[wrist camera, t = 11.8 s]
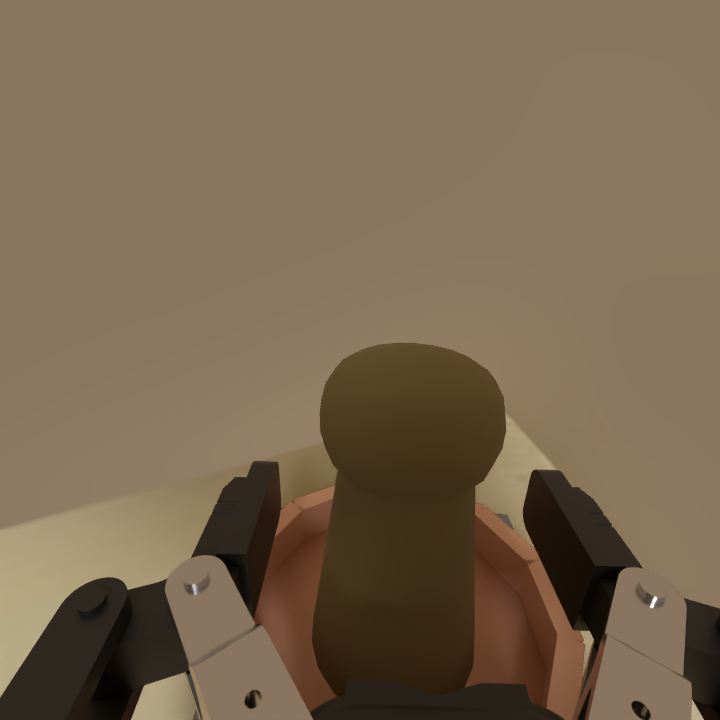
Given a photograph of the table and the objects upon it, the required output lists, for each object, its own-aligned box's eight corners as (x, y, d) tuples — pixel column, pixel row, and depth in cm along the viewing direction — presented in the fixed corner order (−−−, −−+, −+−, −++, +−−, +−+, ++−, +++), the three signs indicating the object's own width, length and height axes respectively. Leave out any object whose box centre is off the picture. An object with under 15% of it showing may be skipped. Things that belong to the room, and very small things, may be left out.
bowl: (159, 872, 10) (141, 827, 9) (267, 513, 22) (264, 476, 21) (649, 889, 10) (681, 844, 9) (501, 520, 21) (509, 483, 21)
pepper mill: (383, 537, 19) (397, 312, 15) (504, 626, 16) (570, 360, 11) (277, 628, 15) (256, 356, 11) (407, 778, 12) (451, 454, 7)
